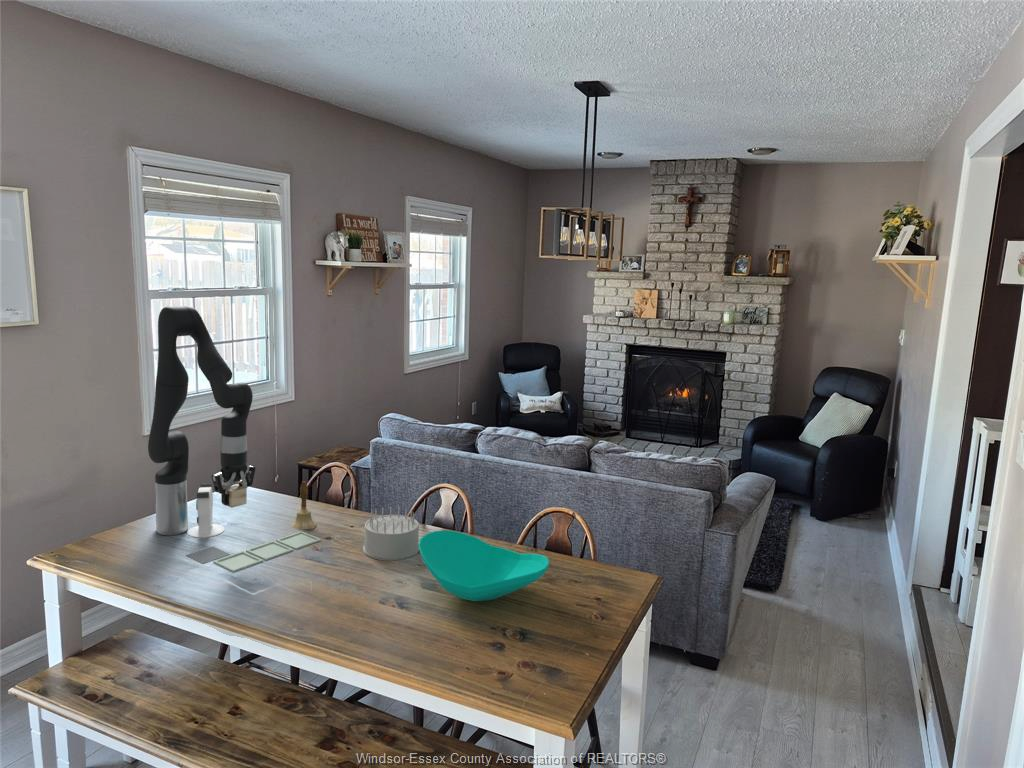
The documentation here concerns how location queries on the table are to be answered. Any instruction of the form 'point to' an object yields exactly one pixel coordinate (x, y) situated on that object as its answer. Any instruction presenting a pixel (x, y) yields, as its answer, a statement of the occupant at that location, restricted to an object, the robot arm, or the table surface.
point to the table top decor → (478, 566)
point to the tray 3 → (298, 540)
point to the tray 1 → (238, 561)
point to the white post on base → (205, 514)
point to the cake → (391, 536)
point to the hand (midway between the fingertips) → (233, 502)
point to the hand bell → (304, 512)
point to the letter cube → (237, 496)
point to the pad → (208, 555)
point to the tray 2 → (269, 550)
